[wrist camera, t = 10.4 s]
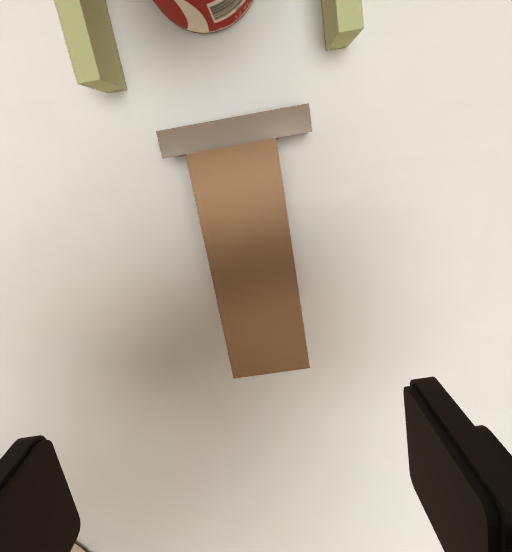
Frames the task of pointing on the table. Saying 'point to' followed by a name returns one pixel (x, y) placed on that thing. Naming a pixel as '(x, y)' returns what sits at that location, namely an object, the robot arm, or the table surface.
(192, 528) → the table surface
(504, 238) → the table surface
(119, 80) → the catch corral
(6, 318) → the table surface
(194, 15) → the soda can
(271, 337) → the scraper
